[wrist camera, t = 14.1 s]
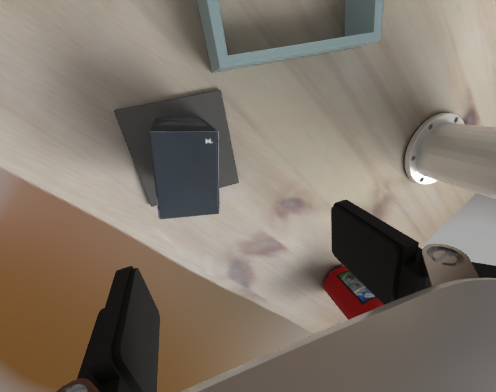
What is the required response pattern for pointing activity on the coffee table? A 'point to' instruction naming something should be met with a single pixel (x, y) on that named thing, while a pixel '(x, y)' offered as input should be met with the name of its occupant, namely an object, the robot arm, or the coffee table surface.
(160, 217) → the box
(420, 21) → the coffee table surface
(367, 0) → the cubby
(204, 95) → the mat
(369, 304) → the beverage can
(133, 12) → the coffee table surface
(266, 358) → the robot arm
